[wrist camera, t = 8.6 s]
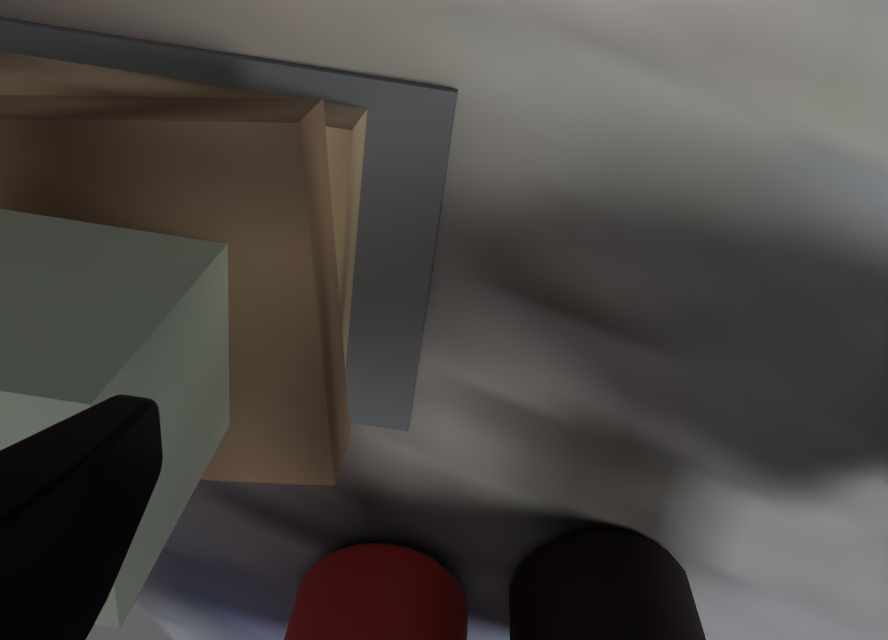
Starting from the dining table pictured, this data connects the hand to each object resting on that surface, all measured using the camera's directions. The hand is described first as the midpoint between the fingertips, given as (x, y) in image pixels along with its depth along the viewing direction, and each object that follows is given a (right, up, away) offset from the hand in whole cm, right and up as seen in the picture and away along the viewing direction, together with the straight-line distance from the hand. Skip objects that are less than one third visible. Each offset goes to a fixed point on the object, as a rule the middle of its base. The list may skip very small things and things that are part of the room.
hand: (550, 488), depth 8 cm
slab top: (-9, +3, +11) cm, 14 cm away
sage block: (-9, +2, +9) cm, 12 cm away
